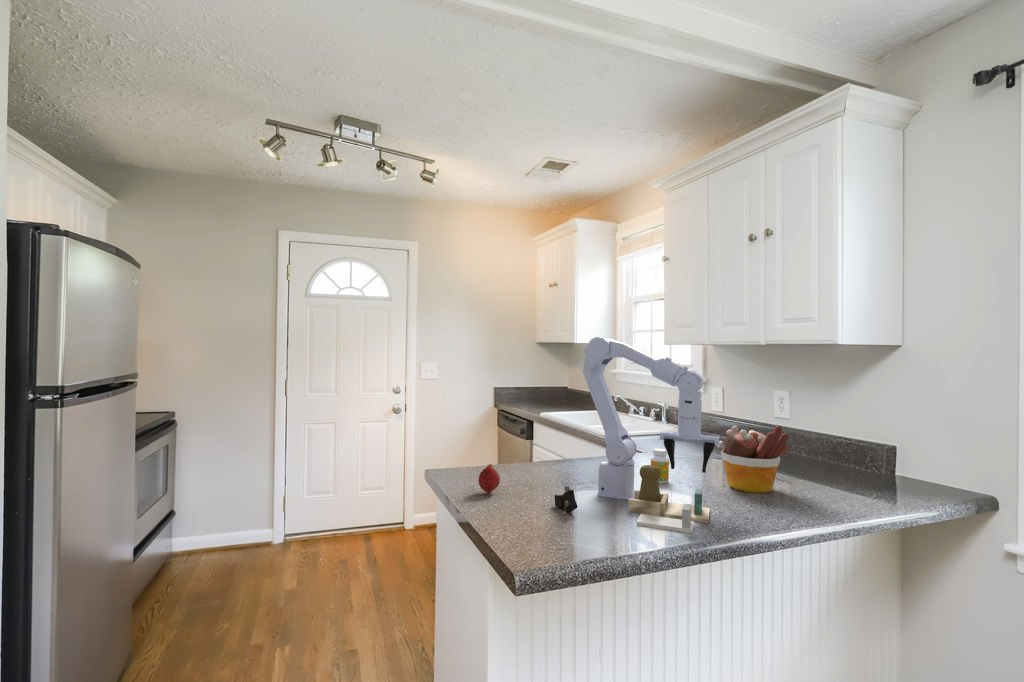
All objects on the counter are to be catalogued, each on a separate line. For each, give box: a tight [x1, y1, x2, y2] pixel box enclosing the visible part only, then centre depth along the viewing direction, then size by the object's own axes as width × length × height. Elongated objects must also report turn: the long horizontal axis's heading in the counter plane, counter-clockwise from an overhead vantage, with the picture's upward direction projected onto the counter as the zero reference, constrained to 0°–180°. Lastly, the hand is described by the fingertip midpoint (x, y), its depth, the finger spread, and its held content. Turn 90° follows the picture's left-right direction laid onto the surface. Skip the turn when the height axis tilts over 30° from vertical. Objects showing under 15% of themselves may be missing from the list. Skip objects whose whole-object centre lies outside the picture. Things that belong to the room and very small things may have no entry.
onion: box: [478, 463, 501, 494], centre depth 138 cm, size 6×6×8 cm
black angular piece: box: [554, 485, 579, 513], centre depth 125 cm, size 9×2×6 cm
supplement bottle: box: [650, 448, 670, 484], centre depth 157 cm, size 5×5×10 cm
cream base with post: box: [636, 502, 695, 535], centre depth 116 cm, size 12×6×5 cm, turn 67°
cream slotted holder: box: [627, 488, 711, 524], centre depth 126 cm, size 18×10×6 cm, turn 67°
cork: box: [639, 464, 661, 502], centre depth 128 cm, size 6×6×11 cm
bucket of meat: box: [715, 425, 789, 494], centre depth 151 cm, size 20×16×20 cm
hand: (688, 470), depth 132 cm, fingers open, 7 cm apart
